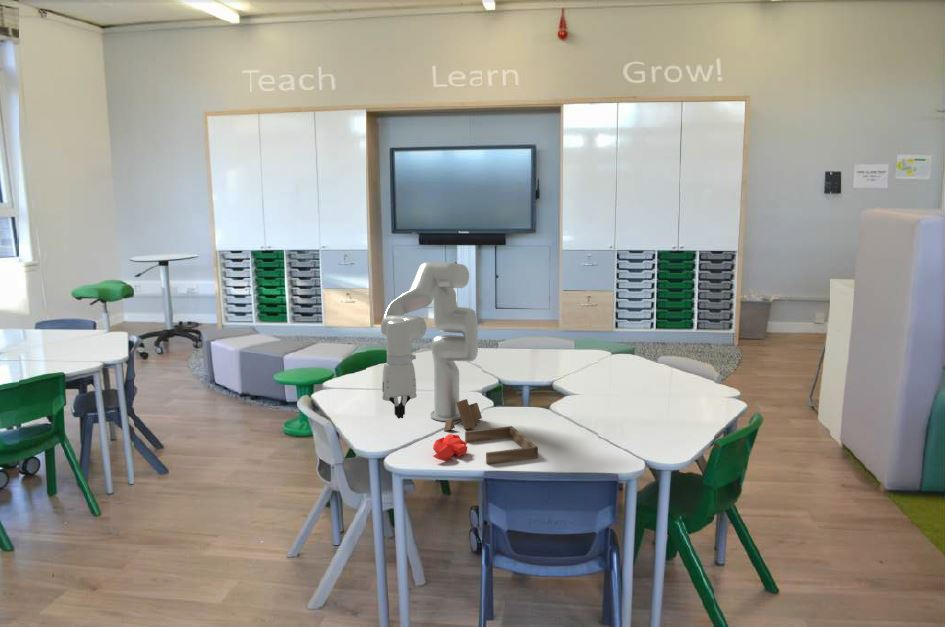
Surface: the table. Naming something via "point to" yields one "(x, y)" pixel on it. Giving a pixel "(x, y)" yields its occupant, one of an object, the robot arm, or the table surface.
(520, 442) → the frame
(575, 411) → the table surface
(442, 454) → the animal figurine
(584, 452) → the table surface
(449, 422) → the wooden block set
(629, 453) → the table surface
